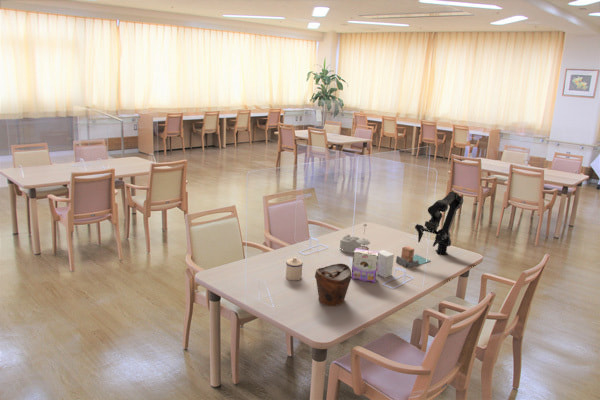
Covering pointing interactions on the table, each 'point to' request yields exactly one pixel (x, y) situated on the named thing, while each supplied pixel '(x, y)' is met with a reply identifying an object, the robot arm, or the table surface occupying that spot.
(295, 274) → the teacup with lid
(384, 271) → the small box
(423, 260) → the teal mat
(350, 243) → the lumpy-topped squat cylinder
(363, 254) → the candy box
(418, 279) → the table surface
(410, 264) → the charcoal u-shaped frame
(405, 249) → the terracotta block
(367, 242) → the french press
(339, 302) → the brown tapered cylinder
